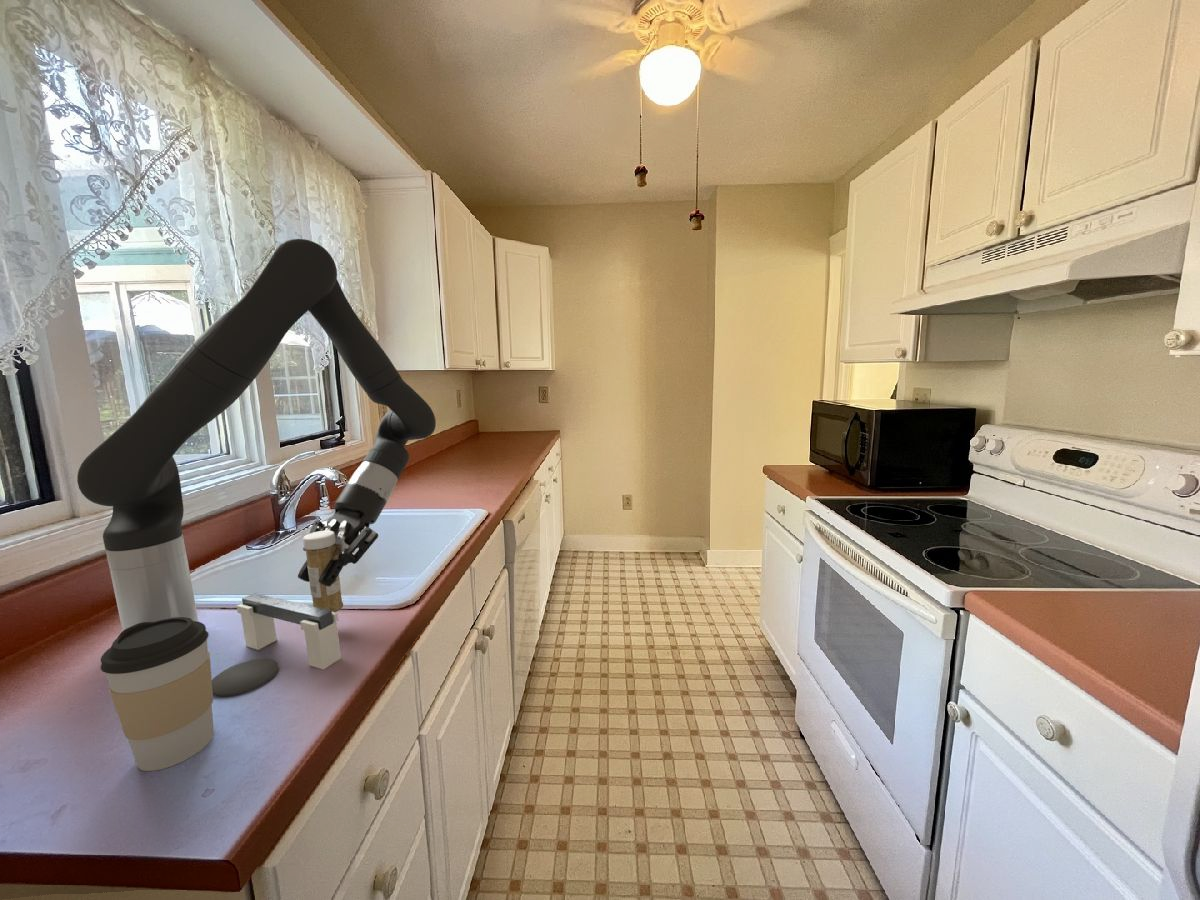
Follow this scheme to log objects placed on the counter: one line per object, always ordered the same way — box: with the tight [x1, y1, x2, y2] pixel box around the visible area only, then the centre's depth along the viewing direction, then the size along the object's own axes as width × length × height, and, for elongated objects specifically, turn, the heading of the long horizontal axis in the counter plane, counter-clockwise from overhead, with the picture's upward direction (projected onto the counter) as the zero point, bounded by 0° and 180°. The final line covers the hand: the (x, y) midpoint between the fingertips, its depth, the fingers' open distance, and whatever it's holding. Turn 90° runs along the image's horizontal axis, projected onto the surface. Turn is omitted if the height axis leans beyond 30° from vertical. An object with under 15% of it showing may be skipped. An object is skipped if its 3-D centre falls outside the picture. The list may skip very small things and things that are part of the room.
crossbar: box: [241, 592, 333, 630], centre depth 75 cm, size 18×2×2 cm, turn 67°
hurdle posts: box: [236, 603, 342, 670], centre depth 75 cm, size 18×4×7 cm, turn 67°
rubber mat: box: [212, 657, 279, 698], centre depth 69 cm, size 8×8×1 cm
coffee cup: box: [99, 617, 215, 772], centre depth 55 cm, size 9×9×15 cm
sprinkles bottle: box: [302, 531, 344, 613], centre depth 80 cm, size 5×5×13 cm
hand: (313, 581), depth 79 cm, fingers closed on sprinkles bottle, 4 cm apart
